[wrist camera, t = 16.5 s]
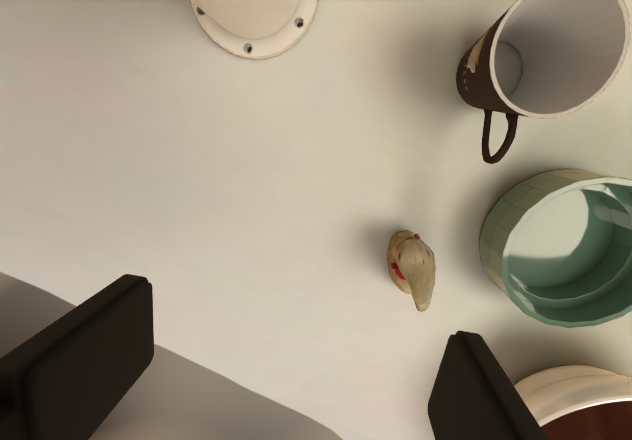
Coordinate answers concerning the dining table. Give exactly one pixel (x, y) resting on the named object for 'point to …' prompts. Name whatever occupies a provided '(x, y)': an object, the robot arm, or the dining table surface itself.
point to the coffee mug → (543, 61)
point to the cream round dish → (579, 403)
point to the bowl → (563, 247)
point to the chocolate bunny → (412, 267)
